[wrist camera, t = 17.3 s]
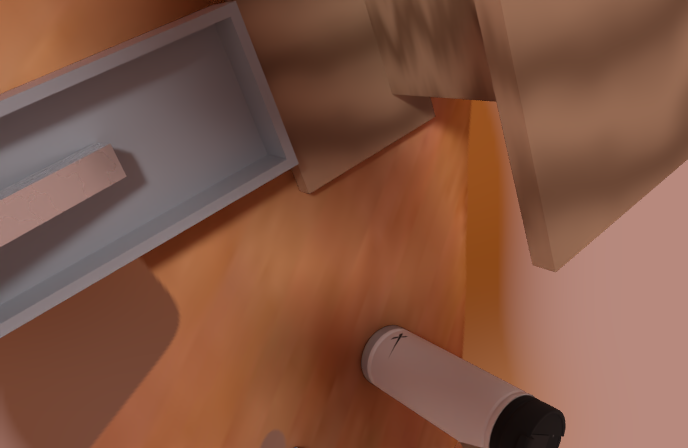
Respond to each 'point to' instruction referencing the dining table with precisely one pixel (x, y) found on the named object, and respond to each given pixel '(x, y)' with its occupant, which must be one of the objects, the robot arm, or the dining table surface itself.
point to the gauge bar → (56, 189)
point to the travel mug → (458, 394)
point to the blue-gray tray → (138, 150)
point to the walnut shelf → (490, 93)
